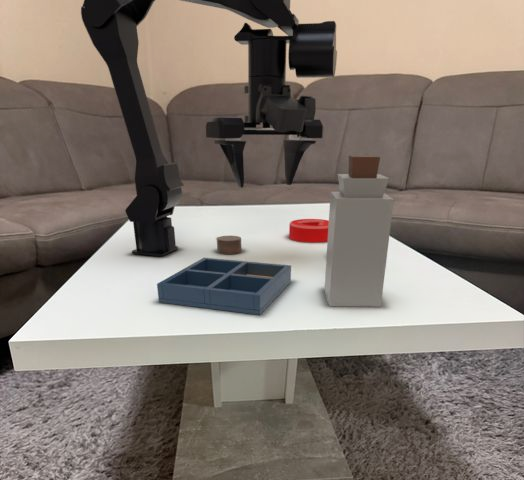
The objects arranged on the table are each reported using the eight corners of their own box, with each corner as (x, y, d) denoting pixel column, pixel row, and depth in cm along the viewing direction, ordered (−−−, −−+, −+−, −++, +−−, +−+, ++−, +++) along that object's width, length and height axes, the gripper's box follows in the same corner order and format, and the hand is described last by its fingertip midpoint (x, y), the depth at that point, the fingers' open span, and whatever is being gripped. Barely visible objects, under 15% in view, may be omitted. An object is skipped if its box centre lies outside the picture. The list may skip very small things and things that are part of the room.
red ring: (284, 233, 101) (284, 219, 100) (326, 232, 103) (327, 217, 101) (295, 243, 92) (296, 227, 91) (340, 241, 94) (341, 225, 93)
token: (213, 253, 85) (212, 239, 84) (223, 247, 89) (222, 234, 88) (236, 255, 84) (235, 241, 83) (244, 249, 88) (244, 236, 87)
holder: (158, 302, 61) (156, 283, 60) (204, 273, 73) (203, 257, 72) (260, 315, 57) (260, 295, 56) (290, 282, 69) (291, 265, 68)
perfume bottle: (324, 289, 66) (333, 154, 58) (371, 290, 66) (386, 154, 58) (329, 306, 60) (339, 157, 52) (380, 306, 60) (398, 158, 52)
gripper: (234, 69, 59) (236, 195, 66) (348, 77, 67) (339, 188, 74) (202, 76, 68) (206, 186, 75) (306, 82, 76) (302, 181, 83)
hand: (265, 186), depth 76 cm, fingers open, 9 cm apart
